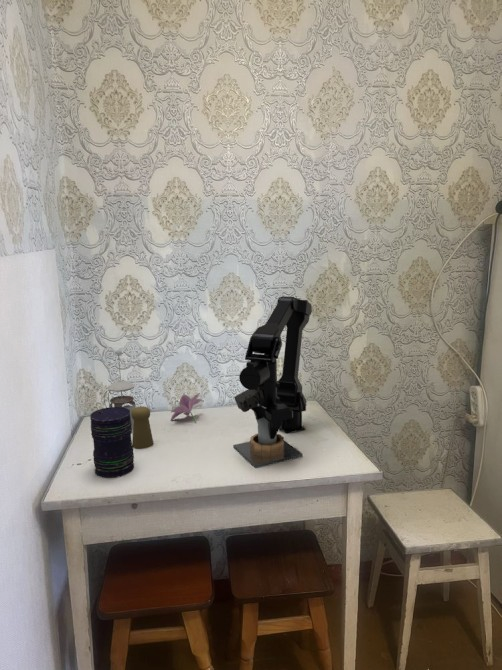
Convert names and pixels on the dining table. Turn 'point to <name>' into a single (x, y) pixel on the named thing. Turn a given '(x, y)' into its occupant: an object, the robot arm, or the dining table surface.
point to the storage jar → (112, 442)
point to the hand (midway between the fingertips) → (266, 434)
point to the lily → (185, 406)
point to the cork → (141, 428)
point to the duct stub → (264, 433)
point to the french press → (121, 400)
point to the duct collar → (267, 451)
